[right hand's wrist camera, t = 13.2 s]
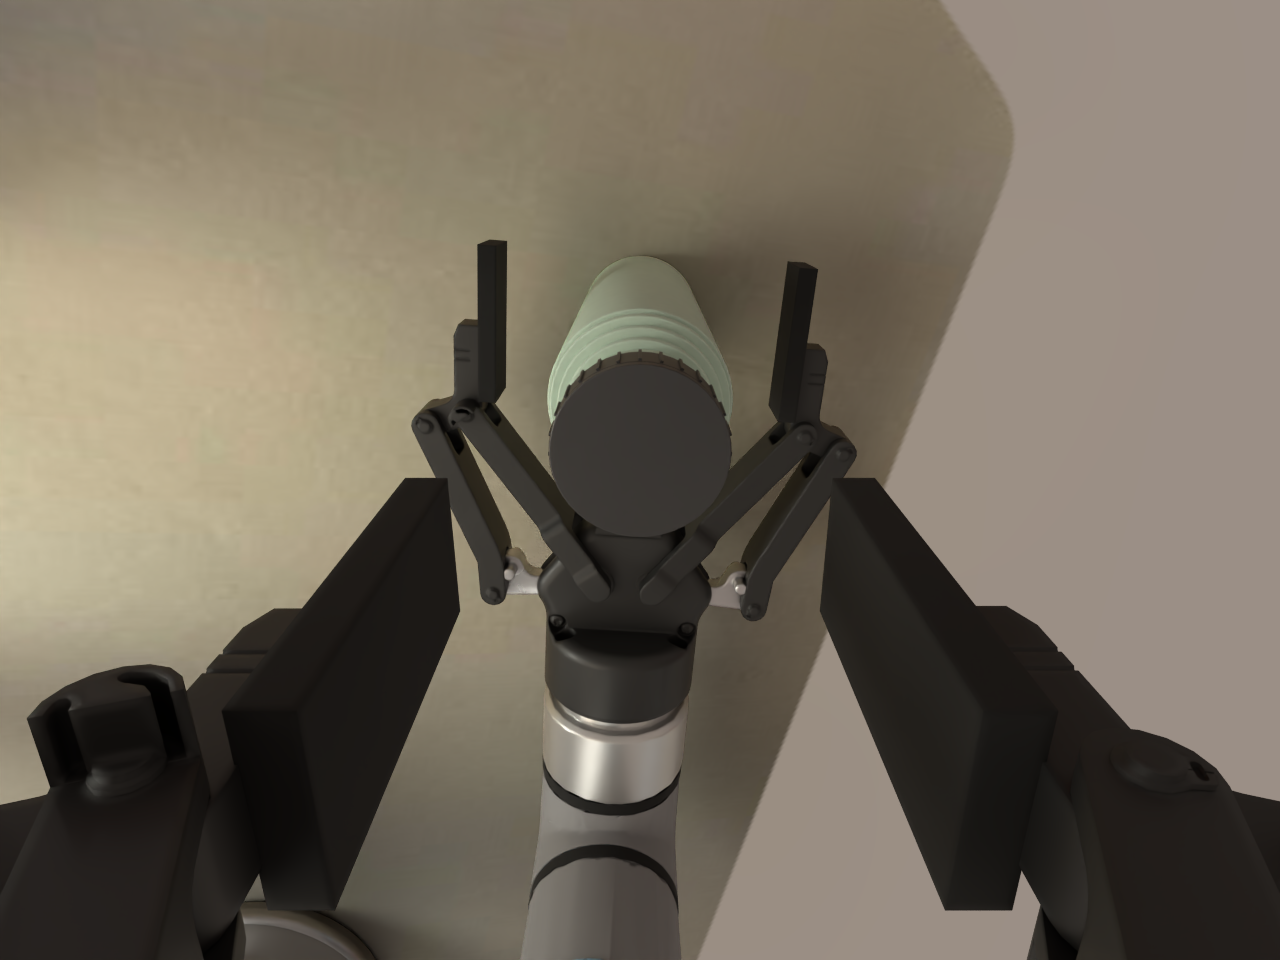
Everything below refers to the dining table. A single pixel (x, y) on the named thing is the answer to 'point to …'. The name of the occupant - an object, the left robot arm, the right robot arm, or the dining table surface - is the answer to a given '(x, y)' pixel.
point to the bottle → (640, 326)
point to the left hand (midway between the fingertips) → (648, 252)
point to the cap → (640, 444)
